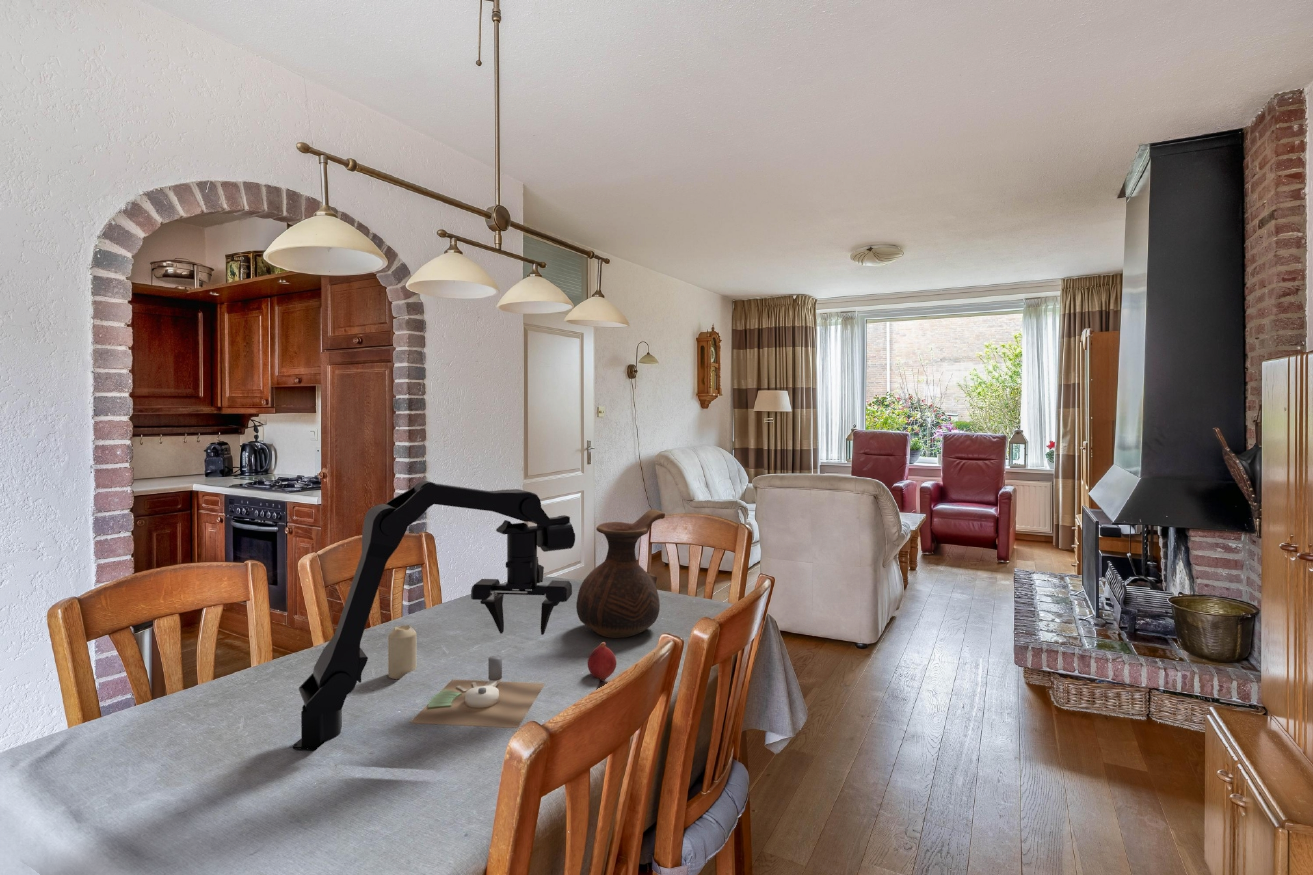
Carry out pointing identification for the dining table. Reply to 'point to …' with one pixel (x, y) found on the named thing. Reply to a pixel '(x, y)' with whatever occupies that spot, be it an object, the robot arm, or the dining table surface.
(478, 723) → the dial board
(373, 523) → the robot arm
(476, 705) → the needle
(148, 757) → the dining table surface
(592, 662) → the onion
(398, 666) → the candle
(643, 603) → the jug
